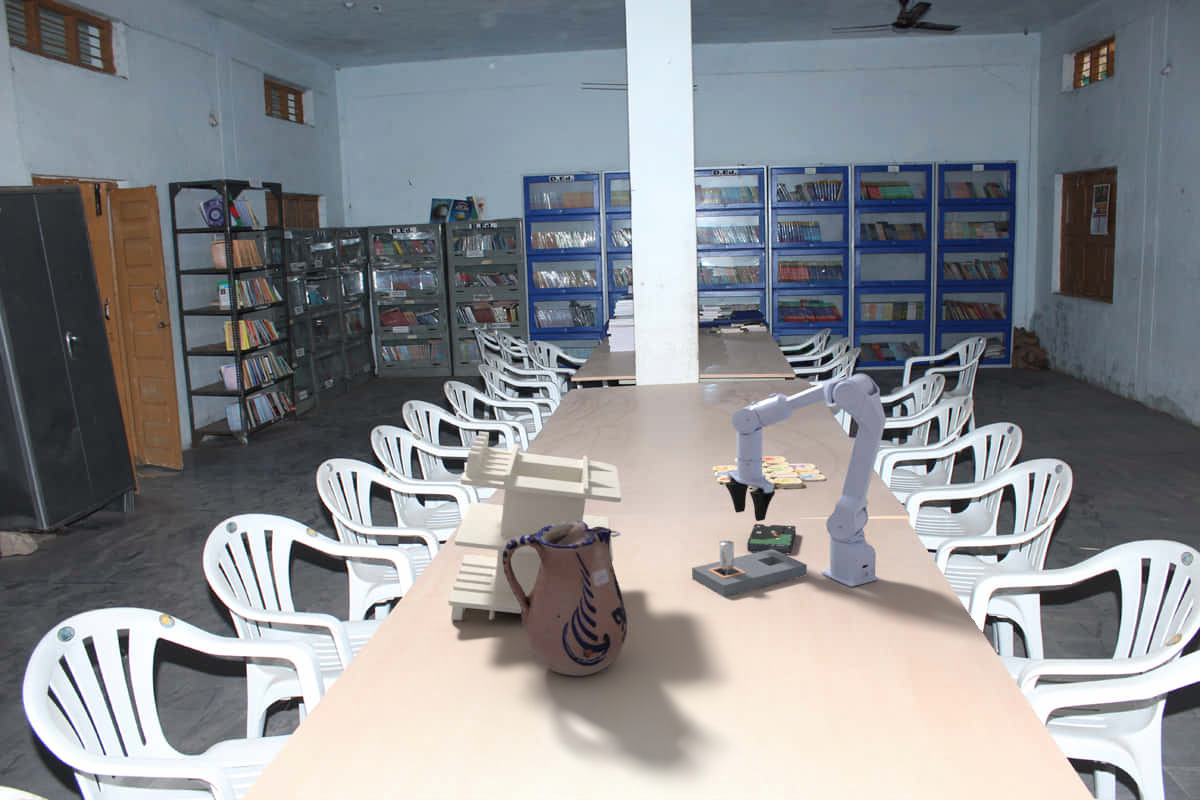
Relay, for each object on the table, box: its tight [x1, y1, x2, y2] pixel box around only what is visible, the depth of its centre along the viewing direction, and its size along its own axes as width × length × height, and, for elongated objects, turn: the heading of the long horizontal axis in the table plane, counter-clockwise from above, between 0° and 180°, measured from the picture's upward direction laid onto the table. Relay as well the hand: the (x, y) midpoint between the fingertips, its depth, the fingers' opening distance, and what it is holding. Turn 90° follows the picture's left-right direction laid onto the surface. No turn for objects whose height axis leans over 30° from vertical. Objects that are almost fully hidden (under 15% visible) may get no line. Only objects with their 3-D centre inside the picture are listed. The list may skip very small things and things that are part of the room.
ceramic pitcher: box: [502, 521, 628, 677], centre depth 159 cm, size 18×21×25 cm
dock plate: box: [691, 549, 808, 598], centre depth 199 cm, size 12×22×3 cm, turn 117°
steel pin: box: [719, 540, 735, 576], centre depth 196 cm, size 3×3×9 cm
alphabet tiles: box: [712, 455, 826, 490], centre depth 282 cm, size 33×33×2 cm
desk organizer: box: [448, 431, 622, 622], centre depth 189 cm, size 26×31×35 cm
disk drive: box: [746, 523, 797, 555], centre depth 221 cm, size 10×3×15 cm
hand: (750, 515), depth 209 cm, fingers open, 7 cm apart
